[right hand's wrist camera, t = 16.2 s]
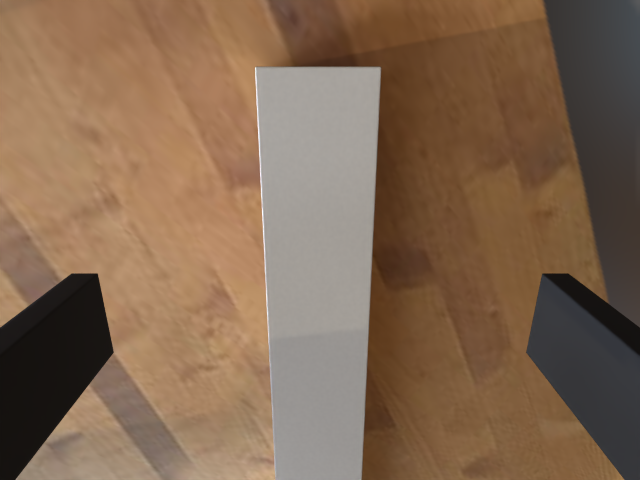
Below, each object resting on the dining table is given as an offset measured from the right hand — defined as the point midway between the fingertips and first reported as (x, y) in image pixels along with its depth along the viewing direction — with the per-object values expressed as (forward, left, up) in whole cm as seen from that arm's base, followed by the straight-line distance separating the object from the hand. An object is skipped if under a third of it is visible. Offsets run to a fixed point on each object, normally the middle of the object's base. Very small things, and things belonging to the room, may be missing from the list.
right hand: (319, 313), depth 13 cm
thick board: (-3, -29, -27) cm, 40 cm away
